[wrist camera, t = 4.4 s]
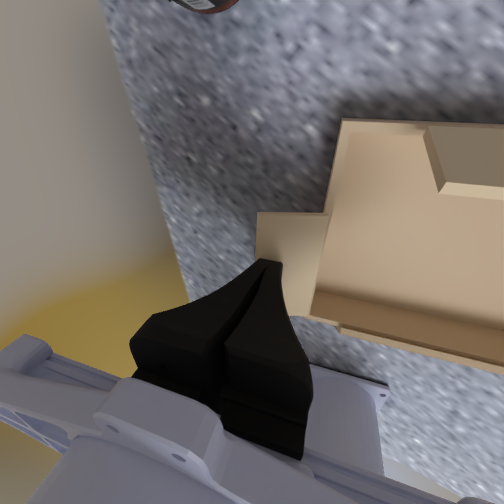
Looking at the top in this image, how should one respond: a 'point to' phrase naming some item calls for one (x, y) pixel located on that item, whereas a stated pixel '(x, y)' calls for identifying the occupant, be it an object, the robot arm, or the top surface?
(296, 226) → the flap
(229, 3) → the supplement bottle
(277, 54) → the top surface
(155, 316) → the robot arm
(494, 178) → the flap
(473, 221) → the carton
